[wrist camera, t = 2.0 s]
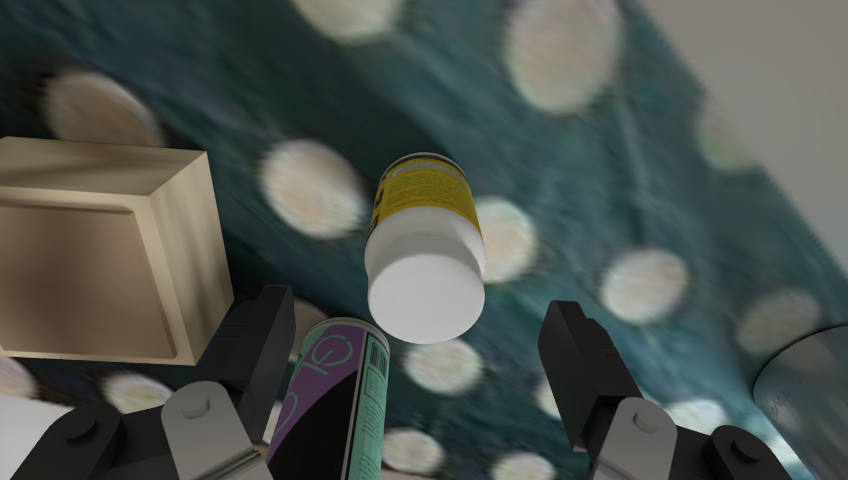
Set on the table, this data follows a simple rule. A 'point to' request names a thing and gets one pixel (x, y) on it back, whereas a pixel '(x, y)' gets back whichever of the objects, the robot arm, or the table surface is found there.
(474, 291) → the supplement bottle
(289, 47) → the table surface
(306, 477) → the spray can
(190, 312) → the base block
